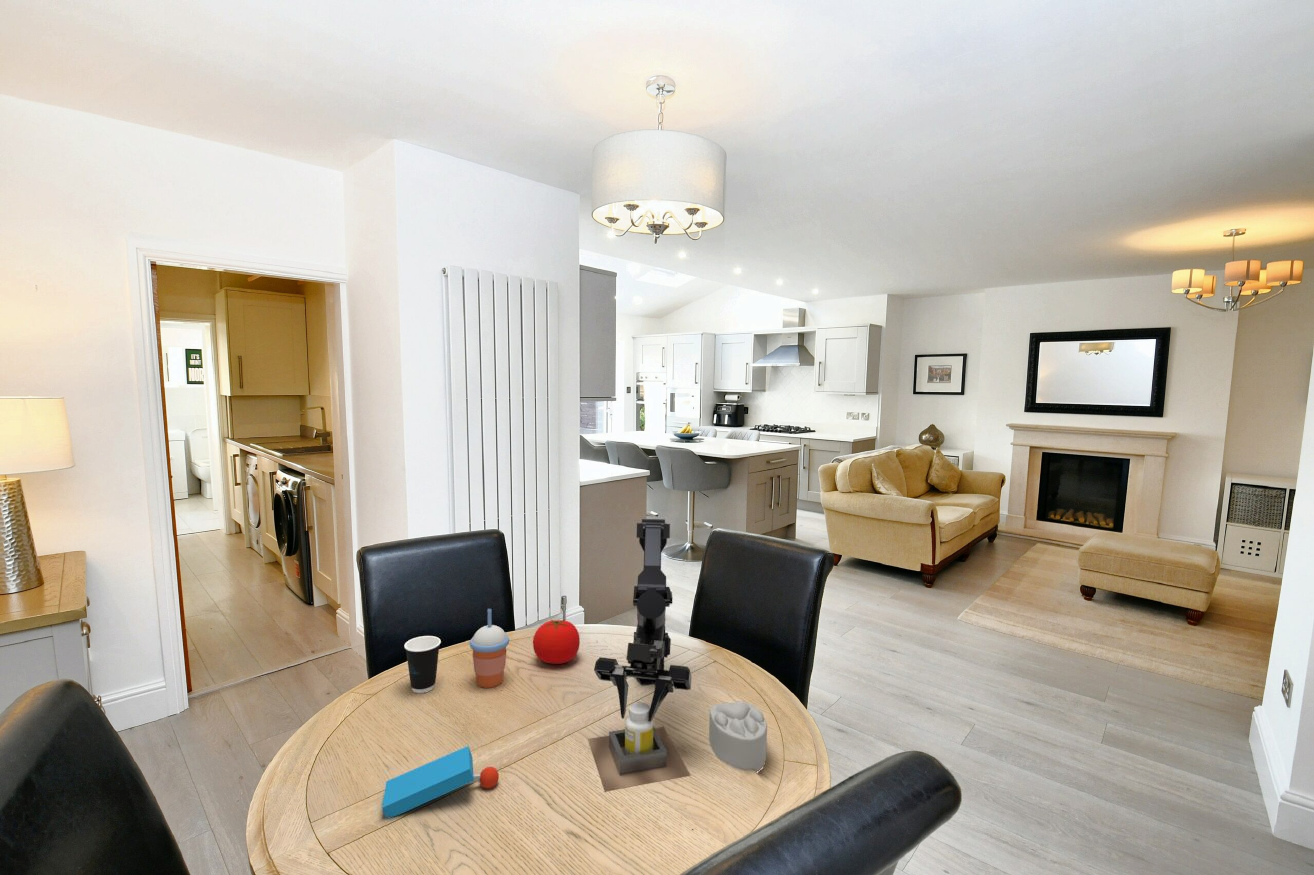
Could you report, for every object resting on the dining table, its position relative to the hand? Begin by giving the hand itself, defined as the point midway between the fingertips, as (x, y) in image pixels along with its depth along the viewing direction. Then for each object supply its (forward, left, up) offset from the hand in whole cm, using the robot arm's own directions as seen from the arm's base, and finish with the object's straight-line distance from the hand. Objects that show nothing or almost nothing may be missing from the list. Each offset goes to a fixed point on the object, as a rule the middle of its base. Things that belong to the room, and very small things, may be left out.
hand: (636, 719), depth 111 cm
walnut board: (-1, -1, -9) cm, 10 cm away
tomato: (+8, -47, -10) cm, 49 cm away
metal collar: (-1, -1, -8) cm, 8 cm away
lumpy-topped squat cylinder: (-21, +2, -10) cm, 23 cm away
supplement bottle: (-1, -1, -8) cm, 8 cm away
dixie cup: (+40, -41, -10) cm, 59 cm away
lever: (+34, -2, -10) cm, 36 cm away
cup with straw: (+25, -40, -10) cm, 49 cm away
